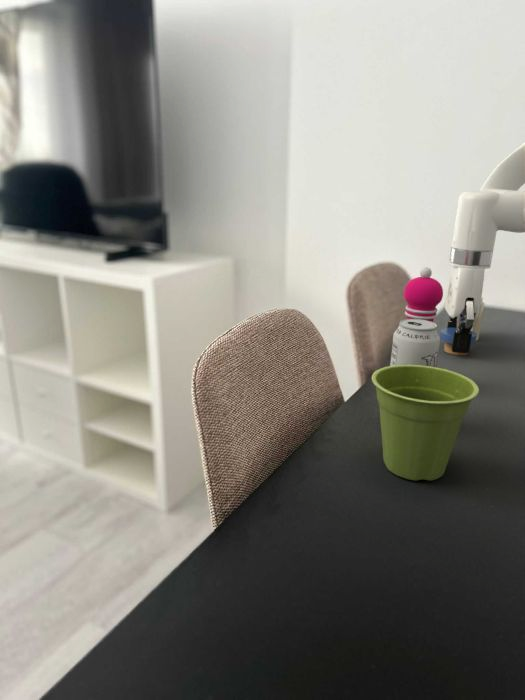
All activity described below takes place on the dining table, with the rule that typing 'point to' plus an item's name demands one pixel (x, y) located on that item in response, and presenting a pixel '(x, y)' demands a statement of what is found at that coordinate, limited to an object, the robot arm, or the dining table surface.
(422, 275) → the pepper mill
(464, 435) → the dining table surface
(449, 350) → the stand
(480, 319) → the jar
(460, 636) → the dining table surface
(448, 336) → the jar lid
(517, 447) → the dining table surface
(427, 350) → the energy drink can
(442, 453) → the plant pot
